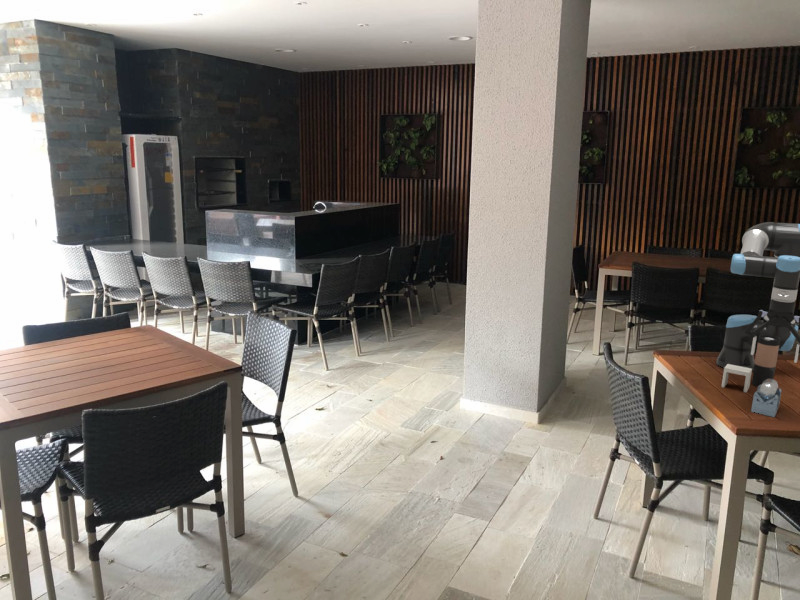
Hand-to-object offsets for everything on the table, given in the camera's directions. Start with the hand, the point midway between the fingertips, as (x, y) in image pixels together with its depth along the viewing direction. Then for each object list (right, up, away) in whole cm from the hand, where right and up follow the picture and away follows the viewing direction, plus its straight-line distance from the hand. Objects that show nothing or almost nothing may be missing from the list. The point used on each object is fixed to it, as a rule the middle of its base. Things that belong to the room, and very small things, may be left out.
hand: (773, 357), depth 231 cm
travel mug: (+13, -14, +31) cm, 37 cm away
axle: (-1, -14, +3) cm, 14 cm away
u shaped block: (+1, -14, +27) cm, 31 cm away
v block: (-1, -19, +4) cm, 20 cm away
